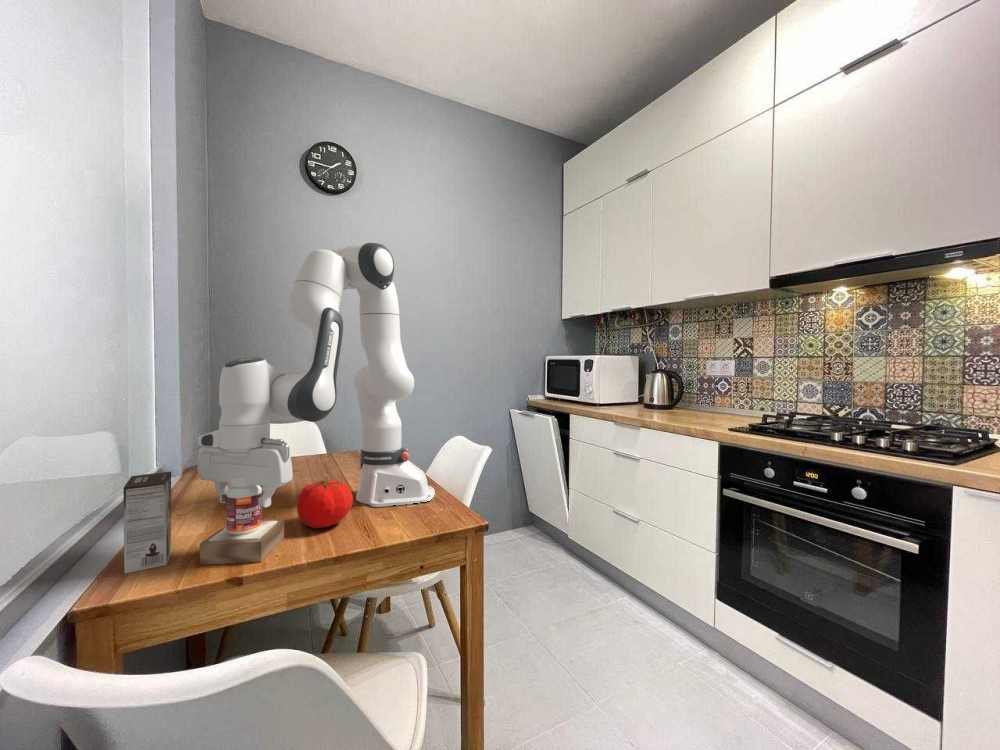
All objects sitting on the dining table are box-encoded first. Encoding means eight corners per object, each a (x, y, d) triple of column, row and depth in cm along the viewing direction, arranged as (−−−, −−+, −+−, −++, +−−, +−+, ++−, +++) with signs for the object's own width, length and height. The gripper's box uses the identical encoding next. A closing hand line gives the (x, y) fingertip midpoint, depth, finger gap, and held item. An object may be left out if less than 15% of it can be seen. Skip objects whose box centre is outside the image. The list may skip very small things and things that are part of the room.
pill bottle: (236, 538, 80) (236, 480, 79) (220, 531, 83) (220, 475, 83) (267, 527, 85) (268, 473, 85) (252, 521, 88) (252, 469, 88)
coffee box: (131, 555, 81) (130, 475, 81) (172, 547, 85) (172, 470, 85) (122, 574, 74) (122, 486, 73) (168, 565, 77) (168, 481, 77)
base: (284, 538, 90) (284, 519, 90) (261, 562, 79) (261, 540, 79) (230, 540, 89) (230, 520, 89) (199, 564, 78) (199, 542, 78)
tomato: (302, 516, 103) (302, 475, 103) (354, 512, 106) (354, 472, 106) (290, 538, 90) (291, 490, 90) (350, 532, 94) (350, 486, 93)
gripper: (300, 437, 84) (299, 503, 84) (218, 432, 89) (218, 495, 89) (276, 442, 78) (276, 514, 78) (190, 437, 83) (191, 504, 83)
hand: (245, 504), depth 84 cm, fingers open, 8 cm apart
